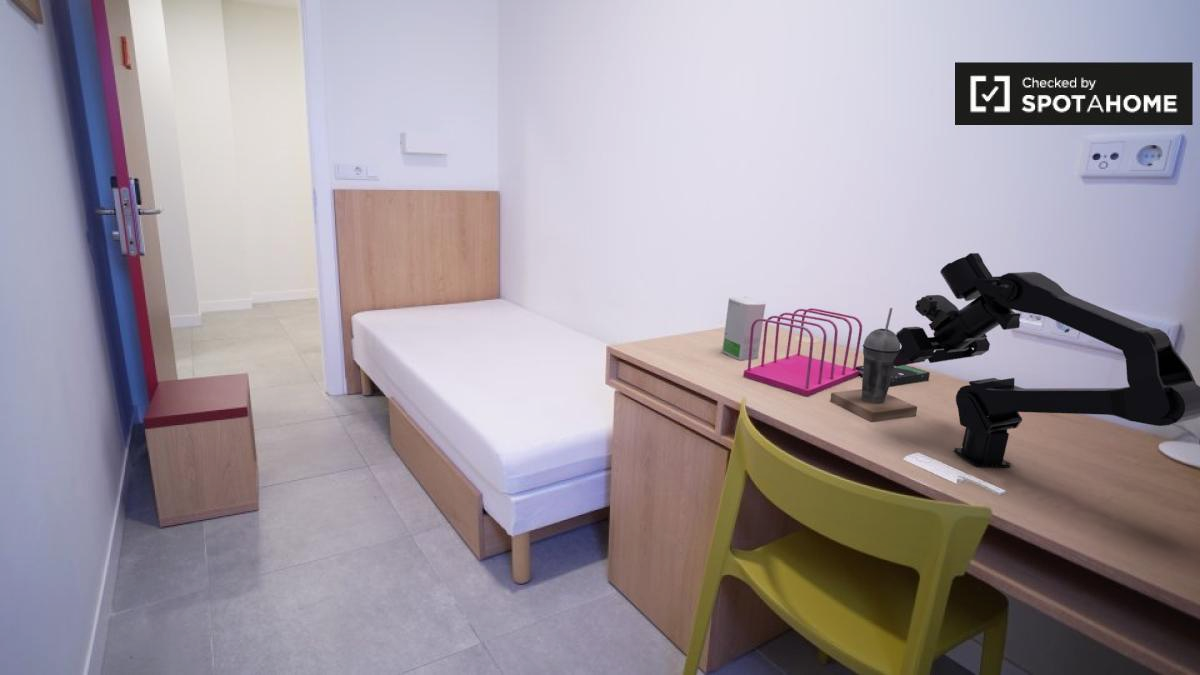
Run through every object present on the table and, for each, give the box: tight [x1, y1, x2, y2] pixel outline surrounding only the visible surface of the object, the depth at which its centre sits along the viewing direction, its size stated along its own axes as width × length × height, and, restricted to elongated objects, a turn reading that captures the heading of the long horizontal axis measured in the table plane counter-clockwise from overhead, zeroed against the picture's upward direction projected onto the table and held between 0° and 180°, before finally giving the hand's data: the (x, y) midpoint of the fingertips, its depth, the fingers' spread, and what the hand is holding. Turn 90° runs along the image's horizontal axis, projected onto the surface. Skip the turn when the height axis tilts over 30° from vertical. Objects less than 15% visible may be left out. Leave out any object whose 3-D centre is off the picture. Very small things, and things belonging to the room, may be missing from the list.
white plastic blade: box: [902, 452, 1007, 496], centre depth 101 cm, size 5×15×1 cm, turn 28°
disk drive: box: [856, 365, 931, 388], centre depth 152 cm, size 10×3×15 cm
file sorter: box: [742, 307, 863, 398], centre depth 148 cm, size 17×25×16 cm
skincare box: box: [721, 296, 766, 361], centre depth 164 cm, size 8×7×16 cm
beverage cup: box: [861, 307, 901, 404], centre depth 127 cm, size 7×7×20 cm
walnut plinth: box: [830, 388, 918, 423], centre depth 130 cm, size 12×12×2 cm
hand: (912, 362), depth 120 cm, fingers open, 9 cm apart
